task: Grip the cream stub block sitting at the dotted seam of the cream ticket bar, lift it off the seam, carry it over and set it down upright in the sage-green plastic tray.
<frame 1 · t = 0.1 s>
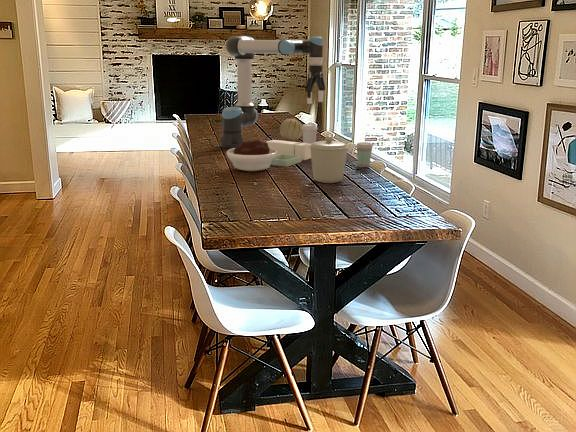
hand: (315, 102, 361), 28 cm above the table, fingers open, 13 cm apart
cantaloupe: (291, 141, 402), on the table
ticket bar: (283, 156, 350), on the table
coffee cup: (309, 150, 370), on the table
white serving bowl: (251, 170, 313), on the table
stub tray: (284, 163, 331), on the table
stub: (303, 158, 344), on the table
canister: (327, 181, 290), on the table
coffee cup 2: (363, 166, 324), on the table
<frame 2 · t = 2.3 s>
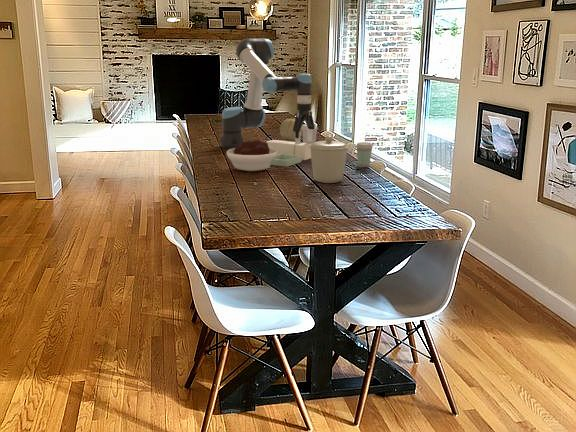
hand: (303, 142, 342), 9 cm above the table, fingers open, 13 cm apart
nothing on the table moved.
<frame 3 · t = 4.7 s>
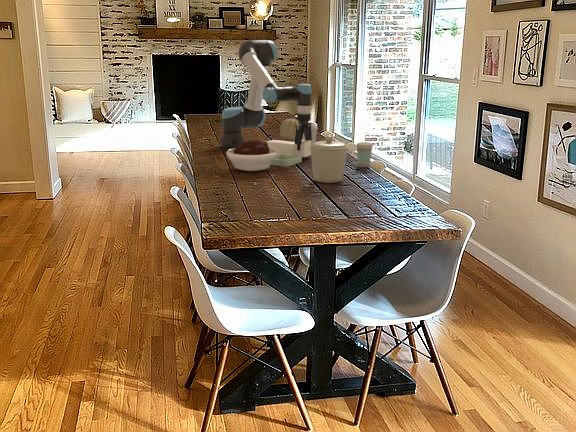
hand: (303, 154, 344), 2 cm above the table, fingers closed on stub, 8 cm apart
stub: (302, 155, 344), point 2 cm above the table, touching gripper
everything else where it was.
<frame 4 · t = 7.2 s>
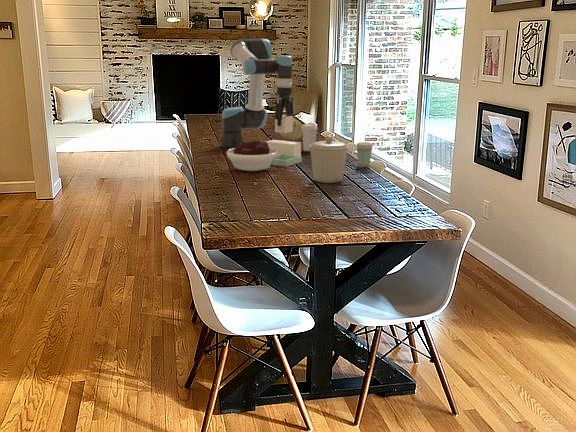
hand: (284, 131, 327), 17 cm above the table, fingers closed on stub, 8 cm apart
stub: (283, 131, 327), point 17 cm above the table, touching gripper
everything else where it was.
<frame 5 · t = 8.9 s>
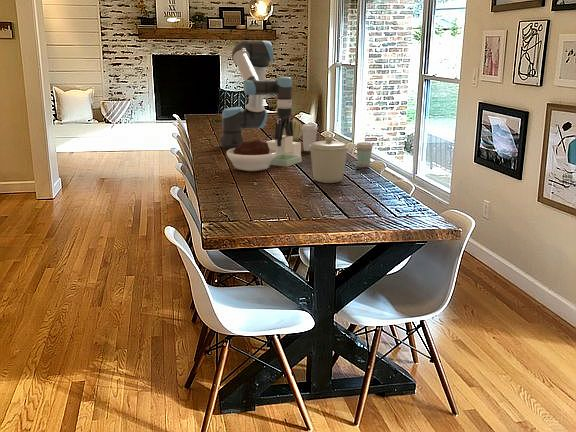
hand: (284, 151, 329), 6 cm above the table, fingers closed on stub, 8 cm apart
stub: (283, 151, 330), point 6 cm above the table, touching gripper
everything else where it was.
when the fingers open (3 cm above the table, at t = 10.0 s): stub drops 2 cm, resting on stub tray.
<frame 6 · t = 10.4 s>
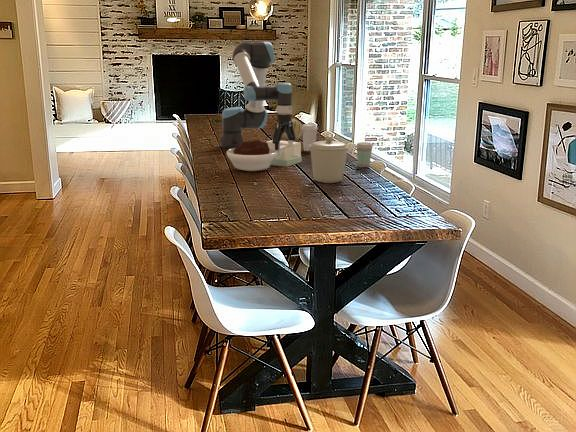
hand: (284, 154, 330), 5 cm above the table, fingers open, 13 cm apart
stub: (283, 161, 331), point 1 cm above the table, touching stub tray
everything else where it was.
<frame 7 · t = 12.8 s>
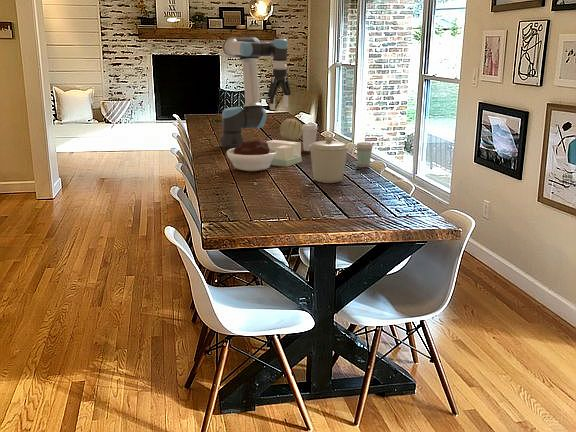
hand: (279, 108, 343), 27 cm above the table, fingers open, 13 cm apart
nothing on the table moved.
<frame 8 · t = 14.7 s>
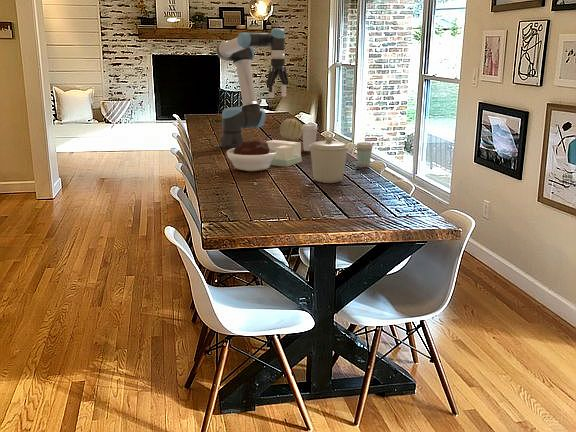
hand: (277, 97, 351), 32 cm above the table, fingers open, 13 cm apart
nothing on the table moved.
at the end: stub inside the target area on the stub tray (0.3 cm from its centre), point 0.6 cm above the stub tray's base; stub tilted 0°; the gripper is holding nothing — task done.
